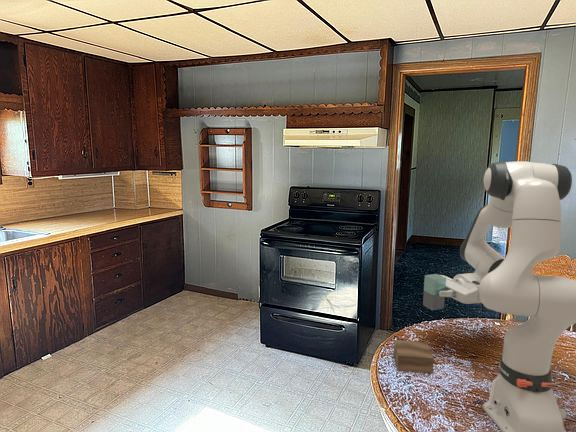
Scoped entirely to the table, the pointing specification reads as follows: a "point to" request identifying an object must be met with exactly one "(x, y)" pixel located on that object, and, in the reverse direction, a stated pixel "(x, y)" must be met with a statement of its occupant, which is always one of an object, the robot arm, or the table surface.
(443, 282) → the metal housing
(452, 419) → the table surface
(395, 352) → the walnut stand
